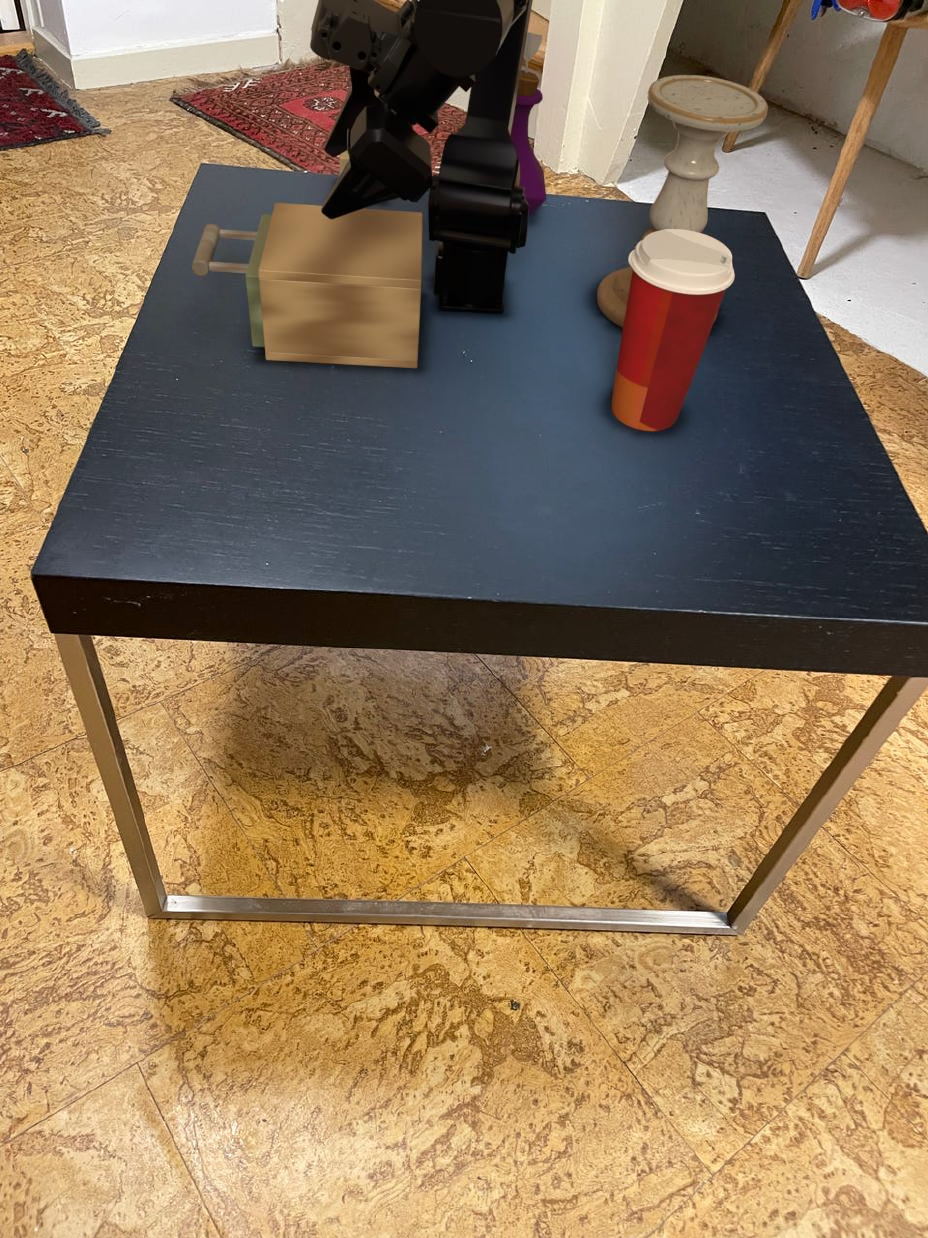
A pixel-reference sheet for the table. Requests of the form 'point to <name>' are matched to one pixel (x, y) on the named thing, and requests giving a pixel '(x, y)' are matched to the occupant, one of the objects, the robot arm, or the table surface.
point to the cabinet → (342, 286)
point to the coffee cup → (667, 323)
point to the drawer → (237, 267)
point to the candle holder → (687, 160)
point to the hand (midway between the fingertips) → (327, 182)
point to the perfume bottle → (519, 132)
